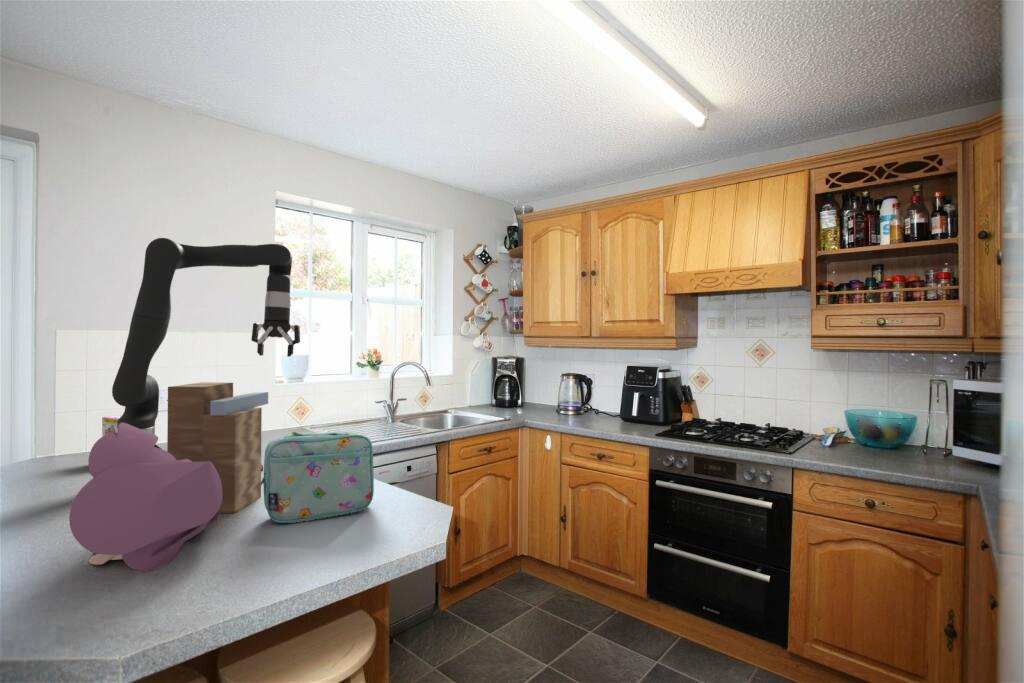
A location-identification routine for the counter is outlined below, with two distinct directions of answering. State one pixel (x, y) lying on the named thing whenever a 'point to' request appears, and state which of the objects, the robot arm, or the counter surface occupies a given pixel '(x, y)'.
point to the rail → (238, 403)
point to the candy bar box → (109, 425)
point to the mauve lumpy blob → (142, 500)
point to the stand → (217, 440)
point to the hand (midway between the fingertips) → (275, 355)
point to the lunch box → (317, 476)
